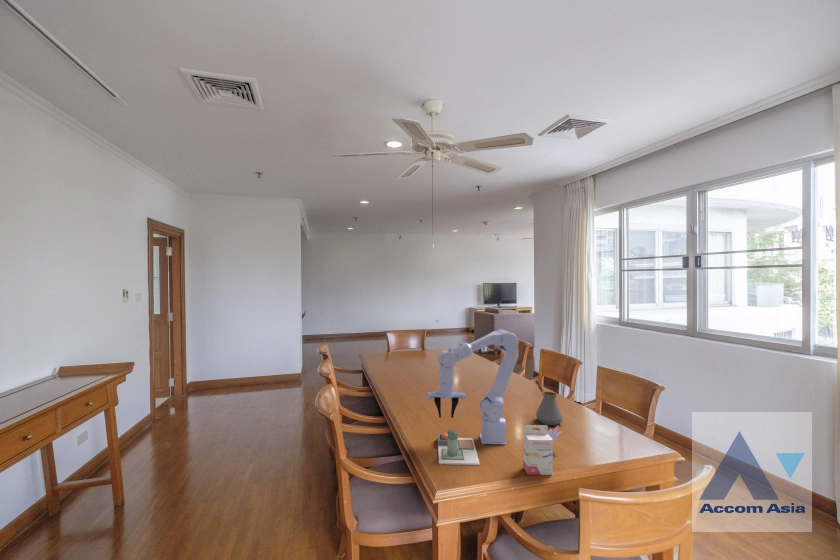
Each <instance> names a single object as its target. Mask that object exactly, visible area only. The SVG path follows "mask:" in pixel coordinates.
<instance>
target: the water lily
mask: <svg viewBox="0 0 840 560" xmlns="http://www.w3.org/2000/svg"><path fill="white" fill-rule="evenodd" d="M559 426H560V424H557V425H556V427H555V428H554V429H553V428H550V429H548V435H549V436H550V437H551V438H552V439H553V442H554V441H556V439H558V438H559V436H560V435H561V433H562V431H561V430H560V431H558V430H559ZM552 430H553V431H552ZM553 457H557V455H556V452H555V450H553Z"/></svg>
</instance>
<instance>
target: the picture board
mask: <svg viewBox="0 0 840 560" xmlns="http://www.w3.org/2000/svg"><path fill="white" fill-rule="evenodd" d="M441 434H442V433H438V434H437V450H438V465H455V466H456V465H459V466H481V465H480V460H479V456H478V453H477V448H476V446H475V445H476V444H475V440H474V437H473V438H472V437H458V449H457V456H449V455H448V454H447V449H448V440H441Z"/></svg>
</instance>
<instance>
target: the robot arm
mask: <svg viewBox="0 0 840 560" xmlns="http://www.w3.org/2000/svg"><path fill="white" fill-rule="evenodd" d="M519 343H520V341H519V339H518V336H517V335H516V334H515V333H514V332H510V331H508V330H505V329H502V328H501V329H496V330H494V331H492V332H490V333H488V334H486V335H484V336H481V337H480V338H478V339H476V340H474V341H473V342H470V343H468V342H463V341H462V342H459V343H458V344H459V345H456V346H454V347H449V348H448V350H444V349H443V350H442V351H440V352H439V354H438V356H437V361H438V363H439V370H438V371H439V372H438V391H429V392H428V391H427V399H433V401H434V404H435V406H436V409H437V412H438V418H442V412H441V410H442V409H441V407H442V404H441V403H442V402H441V399H451V409H450V417H451V419H453V418H454V416H455V415H454V414H455V411H456V408H457V406H458V404H459V401H460V400H466V393H465V392H458V391H454V390H455V383H454V382H455V380H454V379H455V377H454V376H455V370H454V369H455V368H454V367H455V365H456V363H458V362H460V361H463V360H466V359H467V358H469V357H471V356H472V355H473V353H474V352H476V351H478V350H481V349H483V348H486V347H488V346H491V345H492V346H498V347H499V348H500V350H501V352H502V353H503V357H502V359H501V362H500V365H499V367H498V370H497V373H496V375H495V377H494V380H493V382H492V385H491V388H490V390H489V391H488V392H487V393H485V396H484V397H483V398H482V399H481V400H480V402H479V409H480V410H481V412H482V414H481V433H480V434H479V435H478V436H479V439H480V442H481V444H482V445H507V423H506V422H507V421H506V419H505V418H504V417H502V416H503V413H504V412H503V409H504V404H505V403H504V398H503V397H504V395H505V392H506V389H507V387H508V385H509V382H510V379H511V377H512V374H513V371H514V369H515V366H516V364H517V362H518V358H519V356H520V355H519V353H520V352H519ZM459 399H460V400H459Z"/></svg>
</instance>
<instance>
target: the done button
mask: <svg viewBox="0 0 840 560" xmlns="http://www.w3.org/2000/svg"><path fill="white" fill-rule="evenodd" d="M440 434H441V440H448V437H447V435H448V432H443V433H440Z"/></svg>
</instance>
